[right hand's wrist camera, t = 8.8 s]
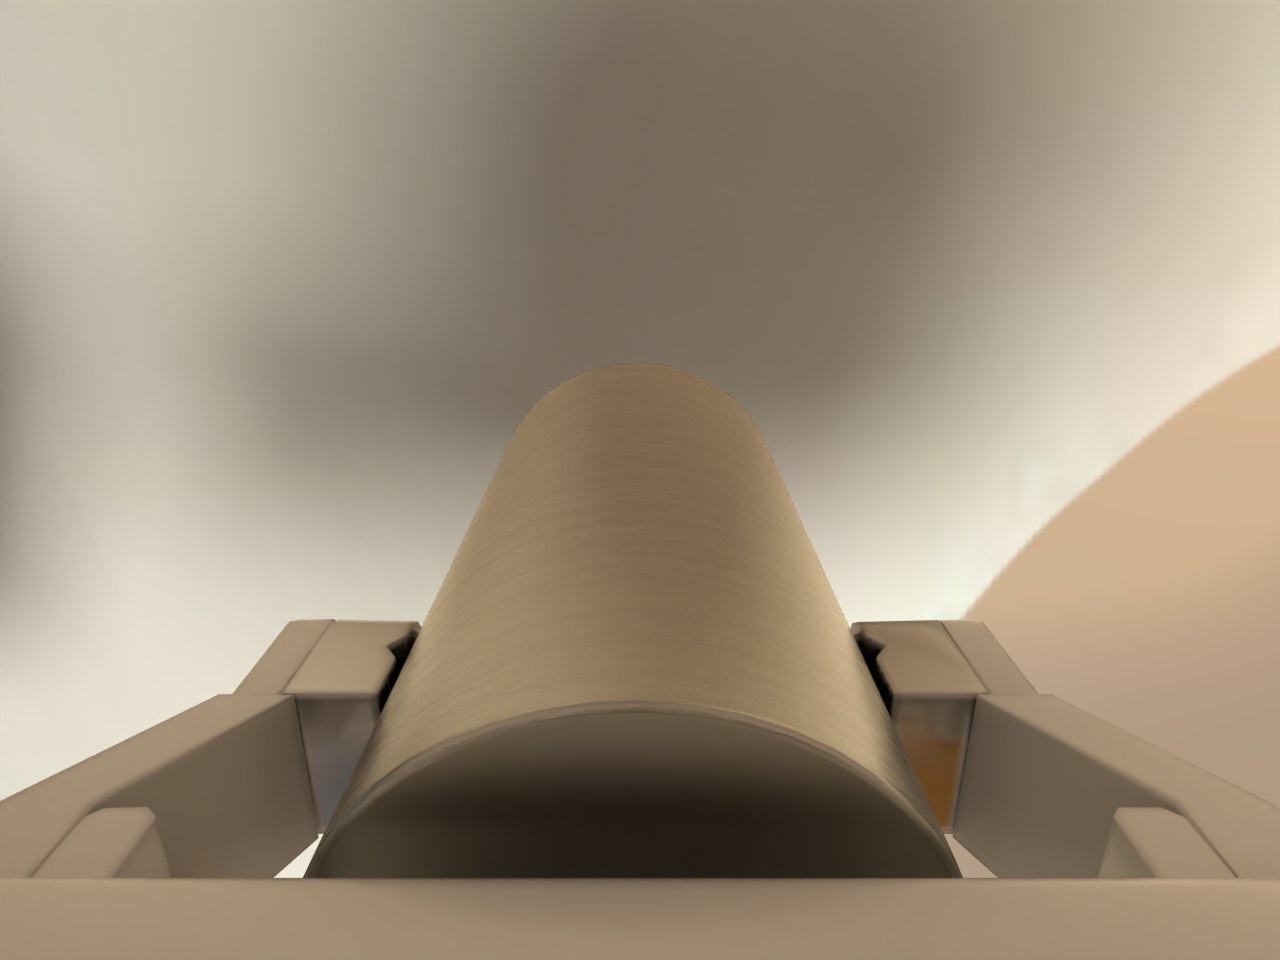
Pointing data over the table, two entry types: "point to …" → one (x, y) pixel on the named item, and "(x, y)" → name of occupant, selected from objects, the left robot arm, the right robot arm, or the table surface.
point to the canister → (635, 672)
